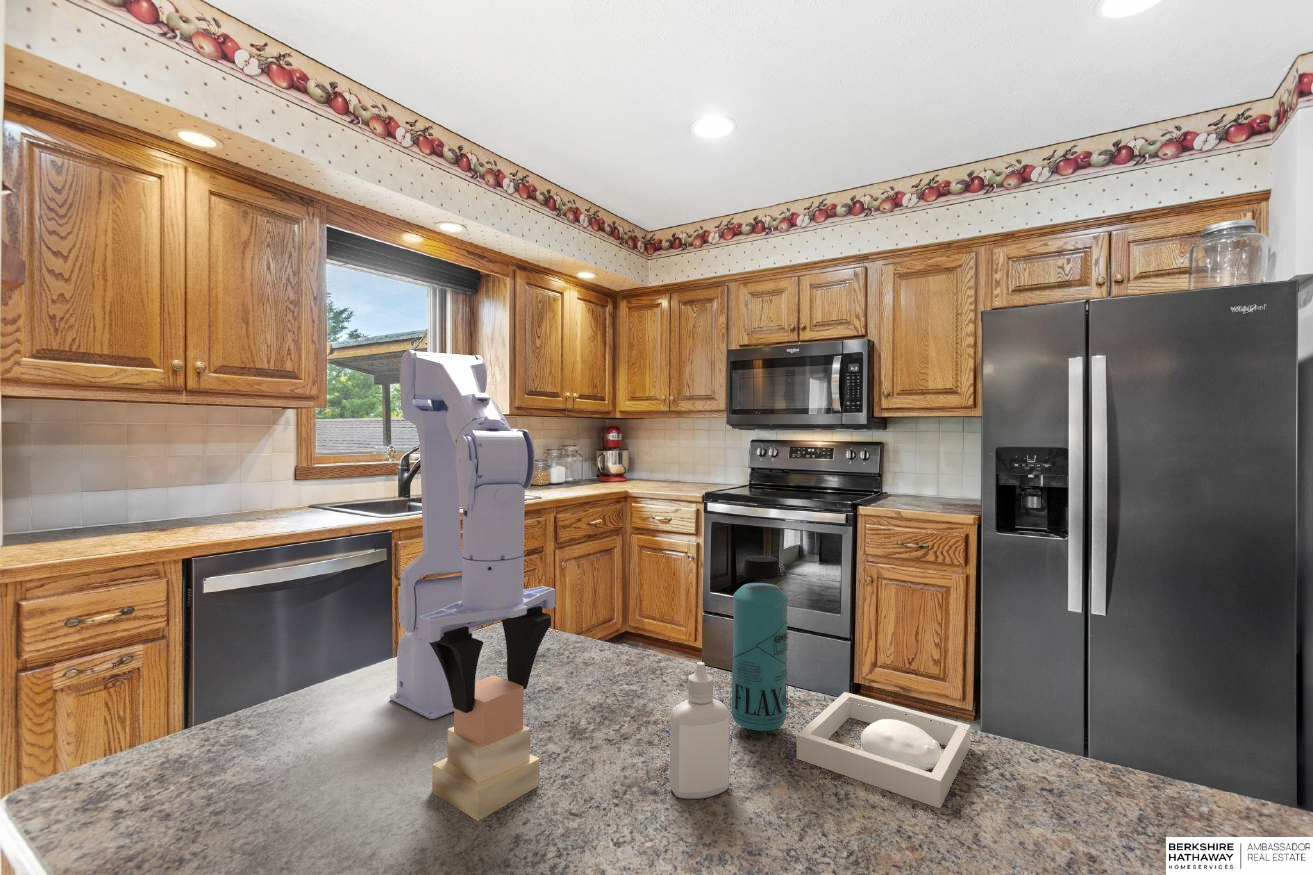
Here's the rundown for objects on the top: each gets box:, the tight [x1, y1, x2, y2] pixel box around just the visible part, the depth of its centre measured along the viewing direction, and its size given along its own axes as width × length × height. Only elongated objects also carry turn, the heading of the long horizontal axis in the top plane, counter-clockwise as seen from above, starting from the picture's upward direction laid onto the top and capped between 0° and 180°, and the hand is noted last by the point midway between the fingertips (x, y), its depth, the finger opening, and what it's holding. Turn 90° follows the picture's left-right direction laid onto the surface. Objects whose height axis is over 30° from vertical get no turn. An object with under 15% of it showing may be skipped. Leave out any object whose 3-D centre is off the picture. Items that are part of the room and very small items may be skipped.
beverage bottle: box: [729, 555, 789, 731], centre depth 70 cm, size 6×7×20 cm
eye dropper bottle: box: [668, 661, 731, 800], centre depth 58 cm, size 4×6×12 cm
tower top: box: [446, 724, 531, 783], centre depth 58 cm, size 6×6×3 cm
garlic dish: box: [796, 691, 971, 809], centre depth 66 cm, size 14×14×2 cm
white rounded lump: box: [860, 719, 943, 771], centre depth 64 cm, size 8×7×4 cm
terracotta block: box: [453, 674, 524, 747], centre depth 58 cm, size 4×4×4 cm
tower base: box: [431, 753, 541, 822], centre depth 58 cm, size 7×7×3 cm
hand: (491, 697), depth 59 cm, fingers open, 6 cm apart
